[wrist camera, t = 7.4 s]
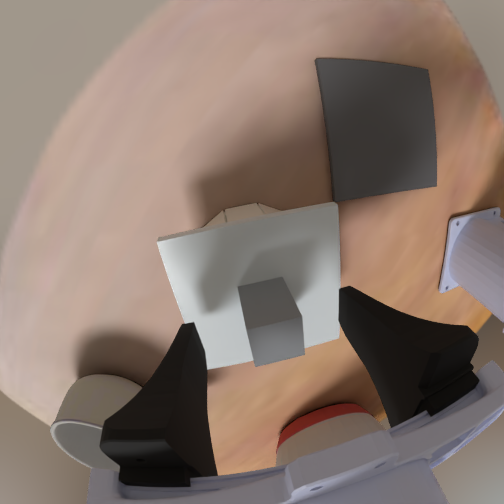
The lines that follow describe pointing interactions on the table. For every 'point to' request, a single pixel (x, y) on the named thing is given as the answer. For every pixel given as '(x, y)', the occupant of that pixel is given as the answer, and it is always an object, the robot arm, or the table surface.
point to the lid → (259, 283)
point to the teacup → (90, 417)
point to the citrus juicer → (324, 431)
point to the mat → (377, 127)
